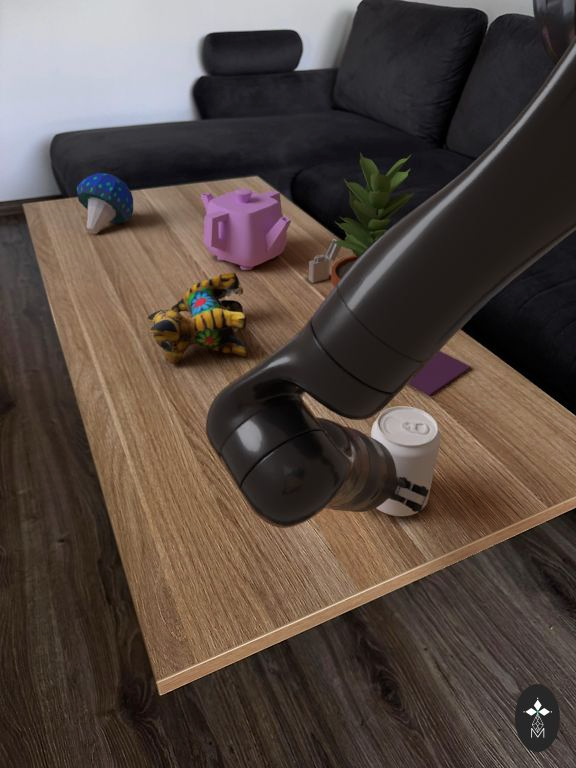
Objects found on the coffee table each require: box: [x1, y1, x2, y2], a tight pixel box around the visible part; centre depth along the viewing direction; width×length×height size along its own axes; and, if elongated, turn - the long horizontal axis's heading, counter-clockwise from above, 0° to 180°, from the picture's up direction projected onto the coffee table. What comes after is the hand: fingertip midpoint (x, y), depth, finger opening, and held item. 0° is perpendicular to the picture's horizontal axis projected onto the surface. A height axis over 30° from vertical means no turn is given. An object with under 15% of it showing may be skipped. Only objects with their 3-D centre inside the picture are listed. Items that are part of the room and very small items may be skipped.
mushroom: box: [76, 172, 134, 235], centre depth 144 cm, size 14×14×15 cm
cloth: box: [407, 350, 471, 397], centre depth 99 cm, size 12×11×1 cm
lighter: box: [308, 238, 342, 284], centre depth 123 cm, size 7×2×8 cm, turn 121°
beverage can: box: [370, 405, 442, 517], centre depth 73 cm, size 8×8×12 cm
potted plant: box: [329, 152, 416, 288], centre depth 104 cm, size 15×15×30 cm
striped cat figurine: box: [146, 271, 248, 365], centre depth 103 cm, size 20×12×18 cm
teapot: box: [200, 188, 292, 271], centre depth 129 cm, size 19×18×15 cm
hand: (389, 482), depth 70 cm, fingers closed
